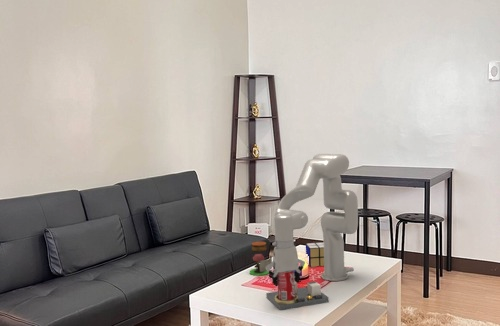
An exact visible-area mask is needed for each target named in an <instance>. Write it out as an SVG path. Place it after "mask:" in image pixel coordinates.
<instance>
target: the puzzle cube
mask: <svg viewBox="0 0 500 326" xmlns="http://www.w3.org/2000/svg"><path fill="white" fill-rule="evenodd" d="M306 254H308V256H309V265H310V266H309V265H308V266H309V267H310V268H318V267H317V266H319V267H320V266H321V267H324V241H323V242H311V243H306V244H305V255H306Z"/></svg>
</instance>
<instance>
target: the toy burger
mask: <svg viewBox="0 0 500 326" xmlns="http://www.w3.org/2000/svg"><path fill="white" fill-rule="evenodd" d="M251 251H253V252H255V254H254V255H253V256H252V260H253V262H255V263H256V264H255V265H254V268H253V269H250V270H249V274H250V275H252V276H257V277H259V276H261V277H262V276H267V275H270V274H269V273H268V271H267V270H266V266H267V265H269V264H270V263H272V262H273V255H269V258H267V259H265V257H264V255H263V254H262V252H266V251H267V242H265V241H253V242H252V243H251ZM260 252H261V253H260ZM272 269H273V267H271V268H270V270H272Z"/></svg>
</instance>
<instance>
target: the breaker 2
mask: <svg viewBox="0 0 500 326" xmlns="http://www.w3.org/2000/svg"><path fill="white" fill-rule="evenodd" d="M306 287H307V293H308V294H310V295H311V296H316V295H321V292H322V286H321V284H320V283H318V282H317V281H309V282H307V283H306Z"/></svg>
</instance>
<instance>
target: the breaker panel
mask: <svg viewBox="0 0 500 326" xmlns="http://www.w3.org/2000/svg"><path fill="white" fill-rule="evenodd" d="M297 291H298V293H295V294H296V295H297V296H298V299H297V302H295V303H291V304H281V303H277V302H276V301H275V296H276V295H278V290H276V291H272V292H266V294H265V296H266V299H267V300H268V301H269V302H271V304H273V305H274V306H275V307H276V308H277V309H278V310H279V311H284V310H290V309H296V308H302V307H307V306H313V305H319V304H325V303H329V301H330V299H329V296H327V295H326V294H324V293H323V291H321V295H316V296H311V295H310V294H308V293H307V286H304V287H297ZM277 299H278V298H277Z"/></svg>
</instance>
